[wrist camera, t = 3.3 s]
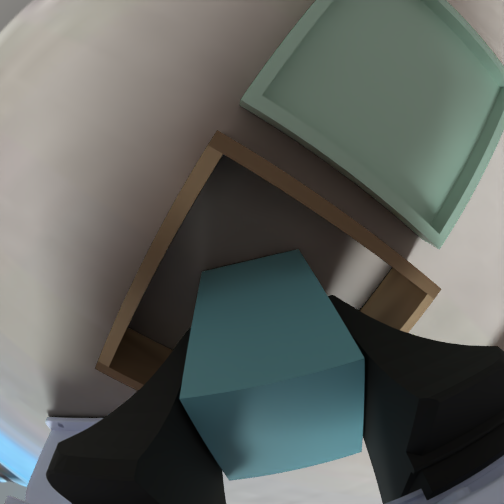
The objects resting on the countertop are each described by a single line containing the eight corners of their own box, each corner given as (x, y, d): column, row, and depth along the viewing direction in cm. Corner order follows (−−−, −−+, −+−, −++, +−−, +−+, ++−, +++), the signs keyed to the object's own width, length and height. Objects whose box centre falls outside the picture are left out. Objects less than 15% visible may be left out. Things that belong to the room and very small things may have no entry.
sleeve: (286, 404, 16) (294, 445, 13) (115, 329, 14) (94, 368, 11) (406, 261, 13) (441, 289, 11) (220, 133, 11) (217, 130, 8)
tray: (421, 238, 13) (439, 249, 12) (239, 105, 11) (240, 99, 9) (500, 89, 11) (519, 88, 9) (358, -45, 8) (370, -59, 7)
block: (227, 348, 14) (229, 480, 7) (202, 271, 13) (179, 398, 6) (311, 329, 14) (361, 451, 7) (298, 249, 13) (364, 357, 6)
